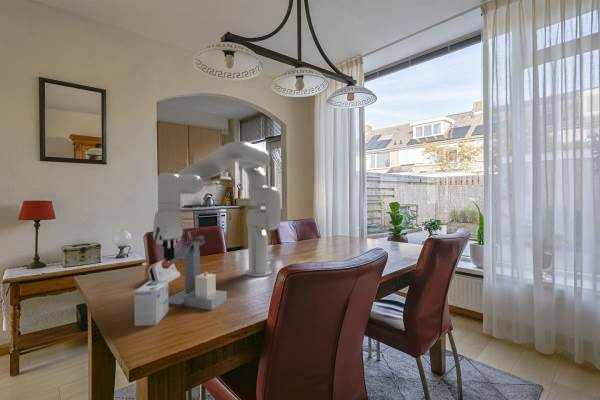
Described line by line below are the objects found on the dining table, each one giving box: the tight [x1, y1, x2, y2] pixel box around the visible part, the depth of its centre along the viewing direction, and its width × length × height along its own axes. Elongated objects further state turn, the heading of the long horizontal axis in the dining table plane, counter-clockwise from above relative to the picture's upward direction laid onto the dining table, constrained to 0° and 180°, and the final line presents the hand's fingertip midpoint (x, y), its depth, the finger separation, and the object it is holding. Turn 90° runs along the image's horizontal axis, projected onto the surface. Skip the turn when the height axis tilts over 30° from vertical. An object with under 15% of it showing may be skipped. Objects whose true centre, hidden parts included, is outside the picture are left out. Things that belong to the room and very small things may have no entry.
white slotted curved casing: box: [147, 259, 182, 284], centre depth 136 cm, size 17×5×10 cm, turn 174°
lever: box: [161, 235, 206, 269], centre depth 116 cm, size 23×3×3 cm, turn 160°
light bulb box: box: [133, 280, 170, 327], centre depth 95 cm, size 11×7×11 cm, turn 5°
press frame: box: [168, 240, 228, 311], centre depth 112 cm, size 17×21×20 cm
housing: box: [195, 271, 217, 296], centre depth 108 cm, size 5×5×8 cm
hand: (169, 258), depth 108 cm, fingers closed
